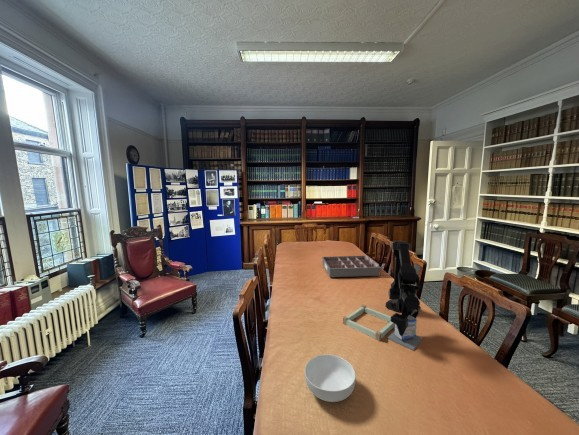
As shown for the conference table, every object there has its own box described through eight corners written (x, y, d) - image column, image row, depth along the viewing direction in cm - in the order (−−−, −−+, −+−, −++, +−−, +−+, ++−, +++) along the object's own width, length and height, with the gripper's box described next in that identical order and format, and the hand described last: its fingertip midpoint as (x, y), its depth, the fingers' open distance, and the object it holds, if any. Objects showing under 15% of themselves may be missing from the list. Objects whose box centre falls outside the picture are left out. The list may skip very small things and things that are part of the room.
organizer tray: (321, 265, 210) (321, 254, 208) (365, 264, 211) (366, 253, 210) (329, 279, 178) (329, 266, 177) (381, 277, 180) (381, 264, 178)
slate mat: (397, 328, 114) (397, 327, 114) (422, 339, 106) (422, 337, 106) (387, 338, 107) (387, 337, 107) (413, 350, 99) (413, 349, 99)
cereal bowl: (347, 369, 89) (347, 352, 88) (362, 411, 73) (363, 390, 72) (302, 371, 89) (302, 354, 88) (307, 413, 72) (307, 392, 71)
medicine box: (401, 340, 103) (402, 322, 102) (394, 334, 108) (394, 316, 107) (416, 337, 106) (417, 318, 104) (408, 331, 110) (409, 313, 109)
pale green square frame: (362, 309, 133) (362, 304, 132) (397, 323, 119) (397, 317, 118) (342, 323, 120) (342, 317, 119) (379, 341, 106) (379, 334, 105)
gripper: (397, 286, 117) (396, 316, 119) (379, 299, 104) (378, 332, 106) (422, 293, 108) (420, 325, 110) (405, 308, 96) (404, 343, 98)
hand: (405, 331), depth 106 cm, fingers closed on medicine box, 9 cm apart
